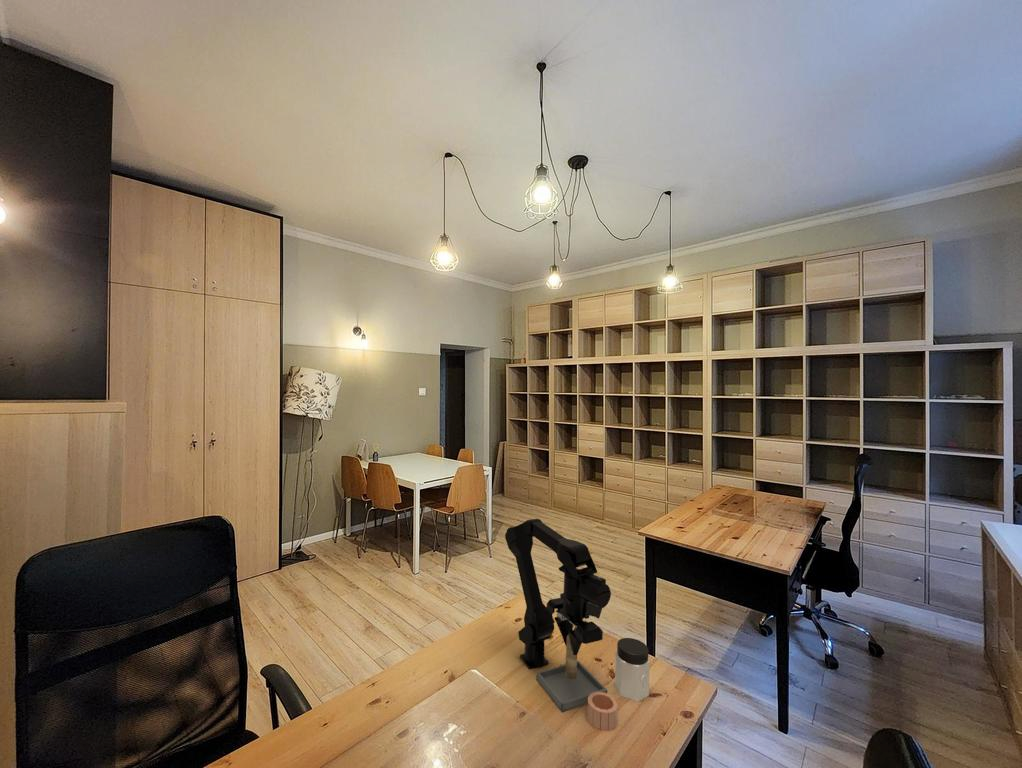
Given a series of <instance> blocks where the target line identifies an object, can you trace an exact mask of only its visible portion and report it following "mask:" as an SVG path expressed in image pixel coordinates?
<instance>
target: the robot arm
mask: <svg viewBox="0 0 1022 768" xmlns="http://www.w3.org/2000/svg"><path fill="white" fill-rule="evenodd" d="M534 538H535V539H536V540H537V541H539V542H541V543H542V544H543V545H545V546H546V547H547V548H549V549H550V550H552V551H553V552H554V553H555V554H556V558H557V560H558V561H559V562H560V563H561V564H562V565H561V566H559V567H558V571H560V572H562V573H564V574H563V592H562V593H560V595H559V597H557V598H551V599H548V601H547V603H546V605H545V604H544V602H543V599H542V598H543V597H542V595H541V592H540V587H539V582H538V578H537V573H536V570H535V566H534V561H533V557H532V550H533V545H534ZM504 539H505V543H506V544H507V547H508V550H509V551H510V553H512V554H513V556H514V557H515V560H516V565H517V570H518V574H519V579H520V583H521V586H522V592H523V596H524V600H525V605H526V606H525V607H526V608H525V612H524V616H523V623H524V627H522V628H521V629H520V630H518V633H517V634H518V640H519V641H520V642H521V643H523V644H524V653H521V654H520V655H519V657H520V659H521V660H522V661H523V663H524V664H525V665H526V667H528V669H530V670H531V669H535V668H539V667H542V666H546V665H548V664H549V660H548V659H547V658H546V657H545V646H546V645H545V641H546V640H549V639H551V637H552V634H553V633H554V630H555V623H556V625H557V628H558V630H559V632H560V634H561V637H562V640H563V643H564V645H565V646H566V644H567V635H569V638H570V642H571V647H572V651H573V655H577V656H578V654H579V652H580V649H581V646H582V644H584V645H588V644H591V643H595V642H599V641H602V640H603V636H604V634H603V633H604V631H603V629H601V627H600V626H598V625H597V624H596V623H595V622H594V621H586V620H587V619H589V618H590V616H591V617H594V618H596V619H600V616H601V613H602V610H603V608H605V607H607V605H608V604H609V602H610V600H611V595H612V591H611V588H610V586H609V585H608V584H607V579H606V578H604V577H600V576H598V575H596V574H597V573H598V570H597V568H596V564H595V562H594V560H593V557H592V556H591V553H590V551H589V548H588V546H587V545H586V544H585V543H582V542H580V541H578V540H576V539H575V540H574V539H569V538H566V537H564V536H563V535H562V534H560V533H558V532H557V531H555V530H554V529H552V528H551V527H549V525H547V524H545V523H544V522H542V520H541V519H540V518H531V519H527V520H525V521H524V522H522V523H521V524H518V525H516V526H510V527H508V528H507V529H506V532H505V534H504ZM584 566H586V567H584ZM579 567H582V568H580V569H579ZM555 612H556V616H555V617H554V615H553V614H554V613H555ZM584 619H585V620H584Z"/></svg>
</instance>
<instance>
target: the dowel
mask: <svg viewBox="0 0 1022 768" xmlns="http://www.w3.org/2000/svg"><path fill="white" fill-rule="evenodd" d="M565 647H566V648H565V664H566V669H565V676H566V677H567V678H569V679H575V678H576V676H577V661H578V654H577V655H573V651H572V647H571V642H570V638H569V635H567V644H566V645H565Z"/></svg>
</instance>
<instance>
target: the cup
mask: <svg viewBox="0 0 1022 768" xmlns="http://www.w3.org/2000/svg"><path fill="white" fill-rule="evenodd" d="M586 705H587V707H586V708H587V709H586V716H587V721H588V722H589V723H590V725H592V726H593V727H594V728H596V729H599V730H602V731H611V730H614V729H615V728H616V727H617V724H618V716H619V715H618V713H619V712H618V711H619V706H618V701H617V700H616V698H614V697H613V696H612V695H611V694H609V693H608V692H607V693H604V692H594V693H591V694H590V695H589V697H588V704H586Z"/></svg>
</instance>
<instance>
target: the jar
mask: <svg viewBox="0 0 1022 768" xmlns="http://www.w3.org/2000/svg"><path fill="white" fill-rule="evenodd" d="M650 663H651V661H650V660H649V648H648V645H646V644H645V642H643V641H641V640H638V639H635V638H633V637H623V638H620V639H619V640H618V641H617V643H616V651H615V665H614V666H615V667H614V669H615V670H614V686H615V688H616V690H617V692H618V694H619V696H621V697H623V698H626V699H629V700H632V701H634V702H638V703H639V702H640V701H641V700H643V699H645V698H647V697H649V695H650Z"/></svg>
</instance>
